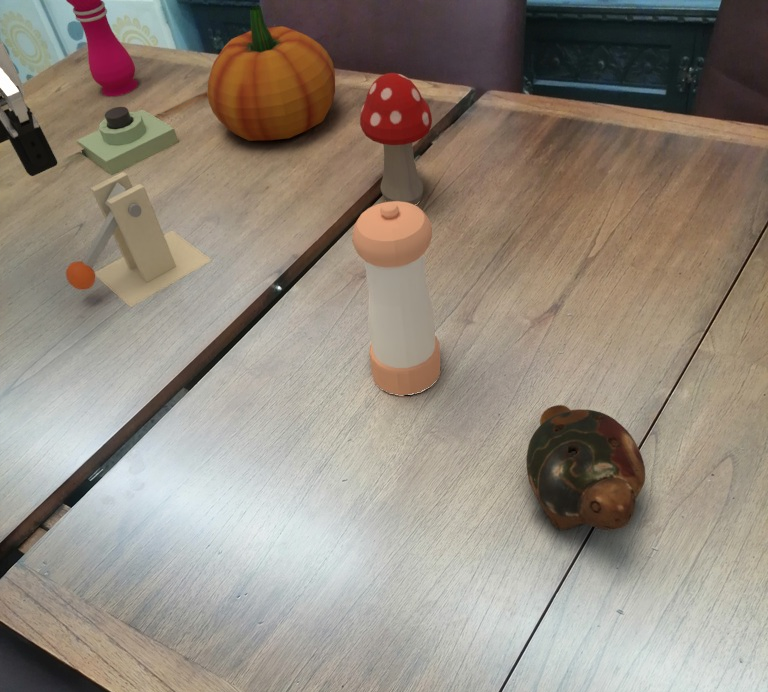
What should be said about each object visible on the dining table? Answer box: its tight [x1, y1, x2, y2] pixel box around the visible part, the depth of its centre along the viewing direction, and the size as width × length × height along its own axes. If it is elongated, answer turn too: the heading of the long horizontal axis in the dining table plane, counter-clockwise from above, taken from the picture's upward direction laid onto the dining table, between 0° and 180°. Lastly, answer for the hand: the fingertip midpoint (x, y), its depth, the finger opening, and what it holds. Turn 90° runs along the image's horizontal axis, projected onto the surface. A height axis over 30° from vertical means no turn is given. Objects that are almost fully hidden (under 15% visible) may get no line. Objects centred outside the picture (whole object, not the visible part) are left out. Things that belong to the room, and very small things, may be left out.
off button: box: [104, 106, 132, 129], centre depth 105 cm, size 4×4×2 cm
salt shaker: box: [351, 201, 442, 395], centre depth 66 cm, size 7×7×19 cm
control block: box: [76, 108, 179, 176], centre depth 107 cm, size 12×10×4 cm
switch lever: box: [65, 183, 127, 291], centre depth 81 cm, size 13×3×3 cm
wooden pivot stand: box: [90, 171, 213, 308], centre depth 84 cm, size 12×10×12 cm
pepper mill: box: [65, 0, 139, 97], centre depth 111 cm, size 7×7×20 cm
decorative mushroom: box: [359, 72, 433, 205], centre depth 87 cm, size 10×9×15 cm
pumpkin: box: [206, 5, 336, 142], centre depth 102 cm, size 19×19×15 cm
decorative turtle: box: [525, 404, 646, 531], centre depth 60 cm, size 10×15×8 cm, turn 17°
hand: (24, 153), depth 74 cm, fingers open, 9 cm apart
